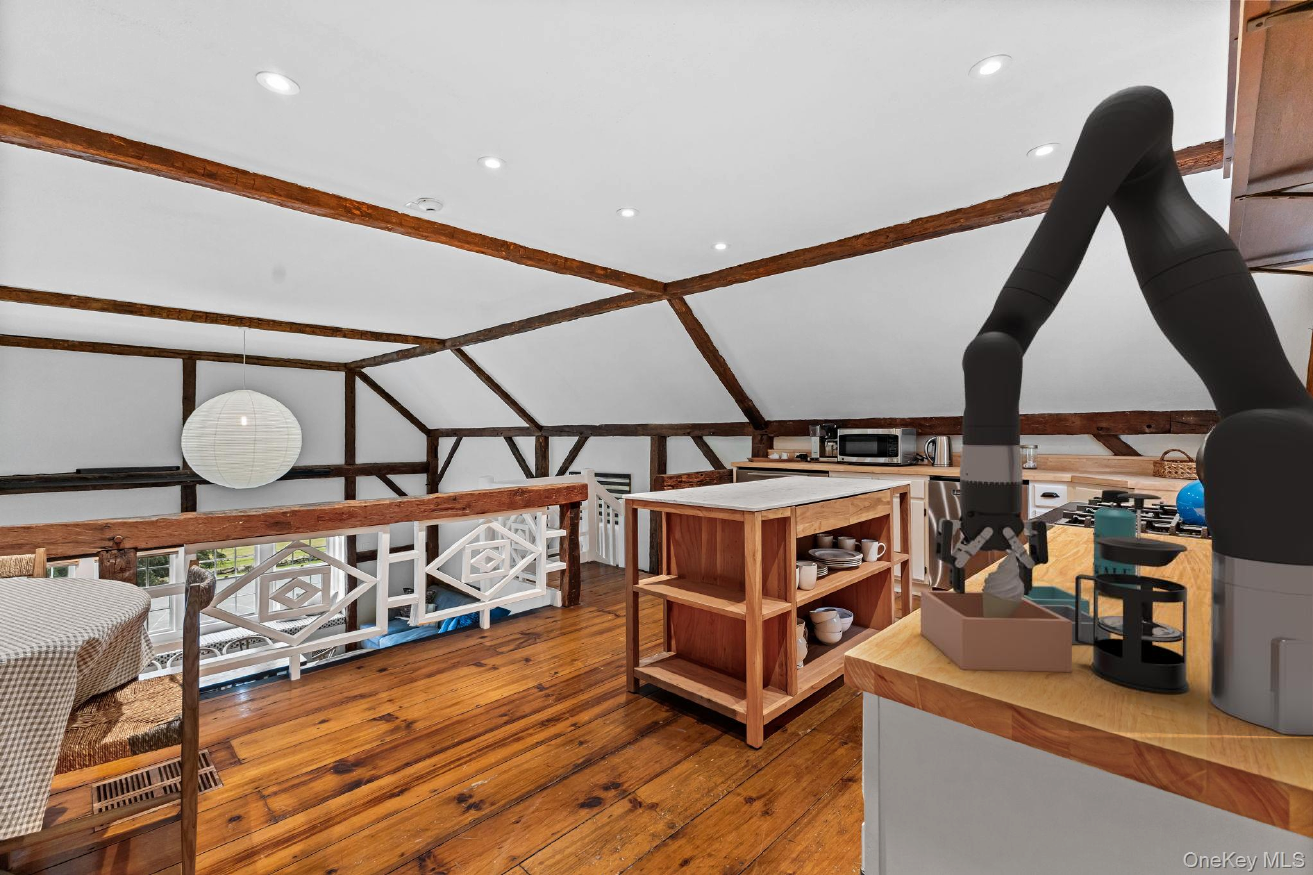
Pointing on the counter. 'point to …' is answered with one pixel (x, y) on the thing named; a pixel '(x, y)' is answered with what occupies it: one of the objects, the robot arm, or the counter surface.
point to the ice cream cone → (1003, 589)
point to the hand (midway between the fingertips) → (990, 593)
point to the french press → (1137, 615)
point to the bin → (996, 634)
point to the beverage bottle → (1113, 533)
